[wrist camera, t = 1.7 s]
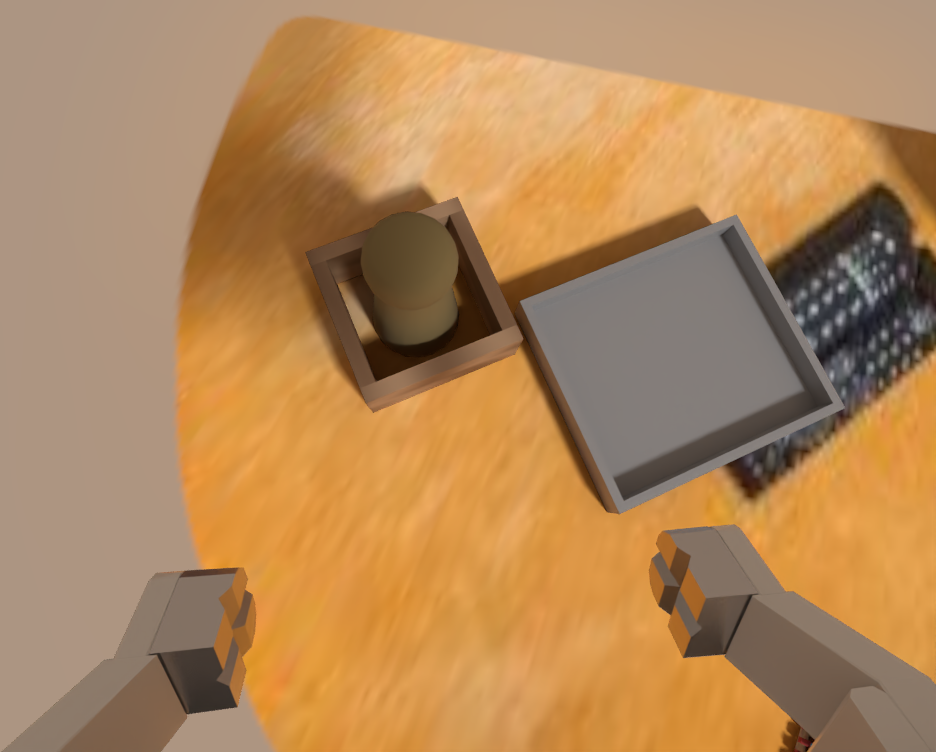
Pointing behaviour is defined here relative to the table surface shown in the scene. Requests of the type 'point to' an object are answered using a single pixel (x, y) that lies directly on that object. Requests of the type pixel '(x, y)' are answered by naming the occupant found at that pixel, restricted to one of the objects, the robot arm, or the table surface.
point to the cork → (412, 282)
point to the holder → (503, 342)
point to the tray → (675, 363)
